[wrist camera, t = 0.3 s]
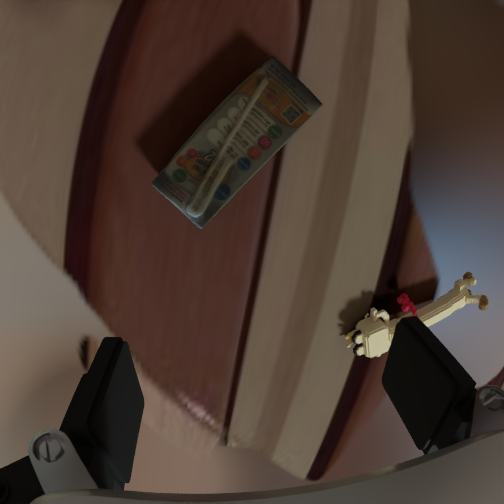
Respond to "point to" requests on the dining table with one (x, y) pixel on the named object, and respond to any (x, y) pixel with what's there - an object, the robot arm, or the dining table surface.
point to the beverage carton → (236, 141)
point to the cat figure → (381, 333)
